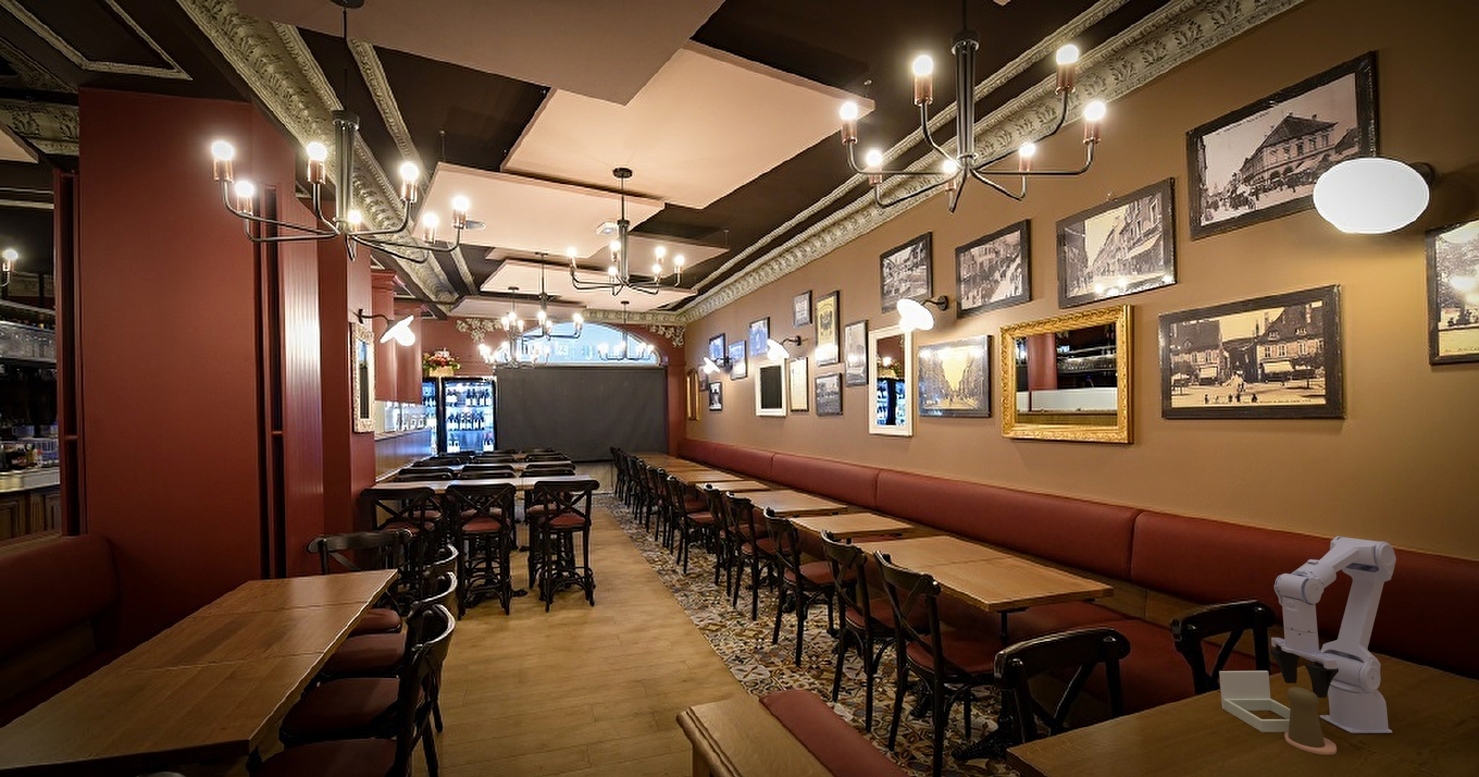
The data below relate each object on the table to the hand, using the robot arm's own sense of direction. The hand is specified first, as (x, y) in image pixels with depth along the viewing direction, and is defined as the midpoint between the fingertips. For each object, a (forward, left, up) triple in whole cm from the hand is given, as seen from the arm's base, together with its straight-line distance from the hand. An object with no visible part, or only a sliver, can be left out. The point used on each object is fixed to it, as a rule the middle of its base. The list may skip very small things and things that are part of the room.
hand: (1305, 689), depth 138 cm
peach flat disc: (+3, +3, -10) cm, 11 cm away
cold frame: (+3, -8, -10) cm, 13 cm away
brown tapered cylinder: (+4, +4, -10) cm, 11 cm away
